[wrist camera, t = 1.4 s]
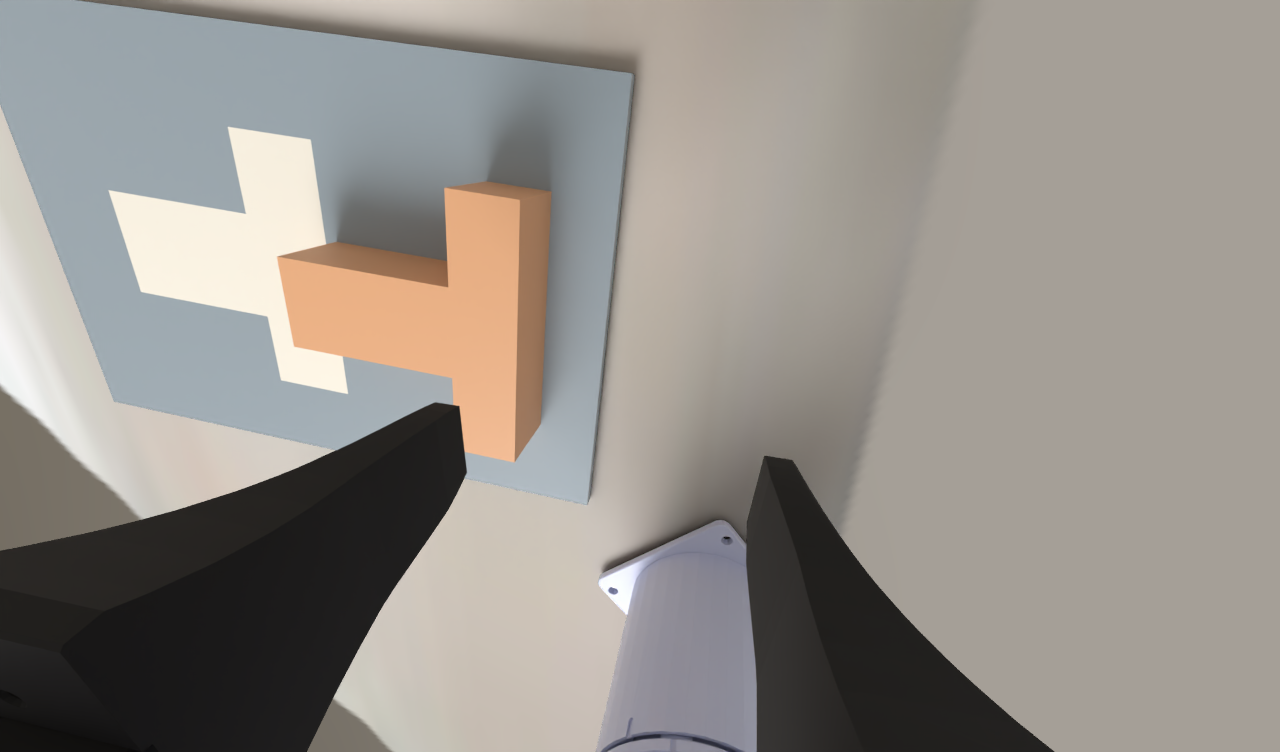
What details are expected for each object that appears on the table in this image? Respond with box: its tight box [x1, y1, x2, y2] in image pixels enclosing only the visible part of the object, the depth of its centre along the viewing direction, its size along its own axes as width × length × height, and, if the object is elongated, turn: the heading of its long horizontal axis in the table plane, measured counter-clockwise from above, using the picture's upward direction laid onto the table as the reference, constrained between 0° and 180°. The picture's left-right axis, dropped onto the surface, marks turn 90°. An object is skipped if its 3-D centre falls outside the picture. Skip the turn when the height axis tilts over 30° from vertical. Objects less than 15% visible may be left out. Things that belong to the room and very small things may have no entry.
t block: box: [277, 181, 552, 463], centre depth 20 cm, size 9×10×3 cm
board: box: [0, 0, 635, 505], centre depth 22 cm, size 26×18×1 cm
